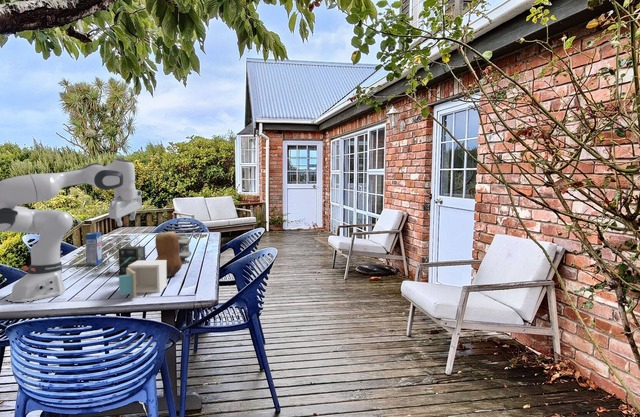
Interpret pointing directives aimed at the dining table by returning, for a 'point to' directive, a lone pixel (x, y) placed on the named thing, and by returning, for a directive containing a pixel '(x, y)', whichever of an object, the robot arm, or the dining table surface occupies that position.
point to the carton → (150, 275)
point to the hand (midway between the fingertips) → (126, 222)
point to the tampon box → (130, 256)
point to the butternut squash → (169, 251)
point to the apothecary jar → (184, 248)
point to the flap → (128, 283)
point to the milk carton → (93, 248)
